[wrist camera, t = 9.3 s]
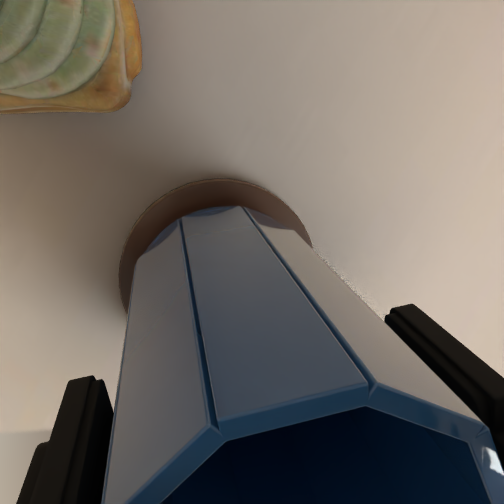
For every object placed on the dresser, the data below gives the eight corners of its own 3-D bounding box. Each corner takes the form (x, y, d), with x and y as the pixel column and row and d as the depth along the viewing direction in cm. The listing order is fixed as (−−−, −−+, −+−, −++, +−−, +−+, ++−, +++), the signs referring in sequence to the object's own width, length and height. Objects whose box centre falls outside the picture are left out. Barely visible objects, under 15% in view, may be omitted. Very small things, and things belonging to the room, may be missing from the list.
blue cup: (108, 225, 16) (14, 469, 6) (305, 189, 17) (535, 341, 6) (150, 388, 18) (139, 767, 8) (320, 348, 19) (507, 643, 9)
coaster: (97, 198, 17) (95, 201, 17) (301, 162, 18) (305, 164, 18) (144, 375, 20) (143, 383, 19) (318, 336, 21) (323, 342, 20)
